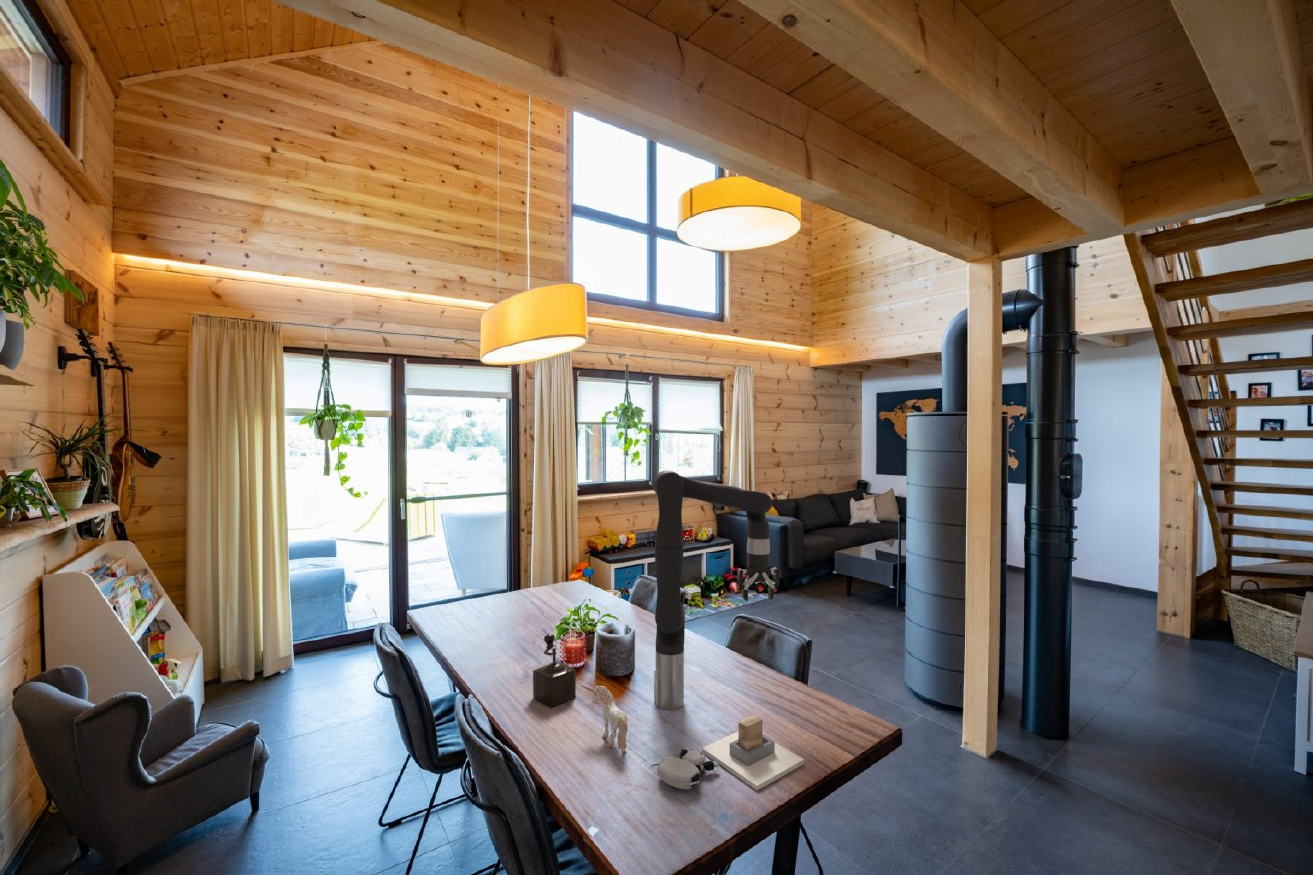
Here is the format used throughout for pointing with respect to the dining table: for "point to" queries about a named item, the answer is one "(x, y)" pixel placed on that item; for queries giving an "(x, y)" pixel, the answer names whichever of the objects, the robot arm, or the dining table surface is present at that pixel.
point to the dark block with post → (554, 680)
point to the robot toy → (684, 769)
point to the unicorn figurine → (611, 716)
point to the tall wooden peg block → (750, 733)
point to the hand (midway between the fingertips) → (758, 599)
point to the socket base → (753, 760)
